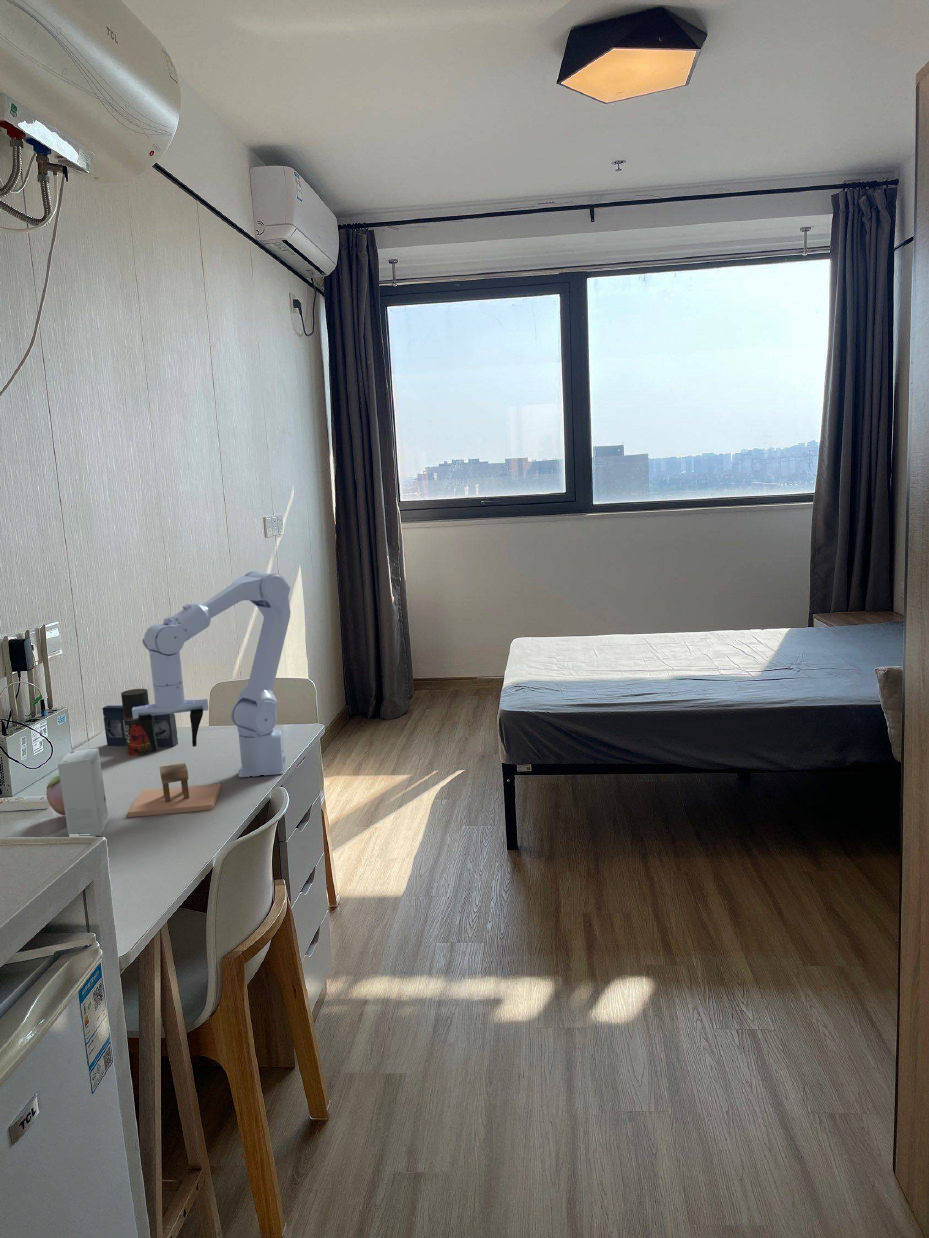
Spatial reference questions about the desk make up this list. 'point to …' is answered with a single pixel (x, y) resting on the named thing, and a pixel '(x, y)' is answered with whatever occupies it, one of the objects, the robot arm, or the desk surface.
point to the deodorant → (135, 722)
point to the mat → (175, 800)
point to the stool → (174, 779)
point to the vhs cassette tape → (117, 734)
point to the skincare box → (83, 792)
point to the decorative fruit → (55, 795)
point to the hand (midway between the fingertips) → (175, 747)
